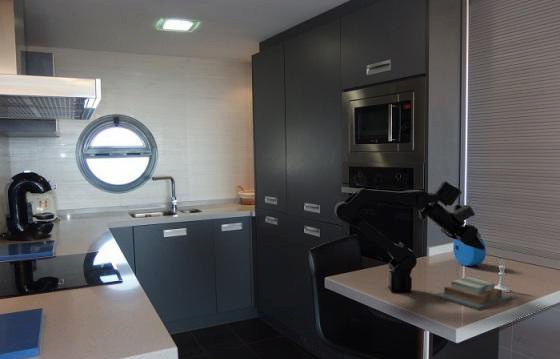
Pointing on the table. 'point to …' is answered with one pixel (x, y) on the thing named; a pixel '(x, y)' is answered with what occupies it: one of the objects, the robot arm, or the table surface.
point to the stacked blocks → (473, 290)
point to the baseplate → (472, 304)
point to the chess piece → (502, 279)
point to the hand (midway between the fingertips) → (477, 246)
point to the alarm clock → (469, 253)
